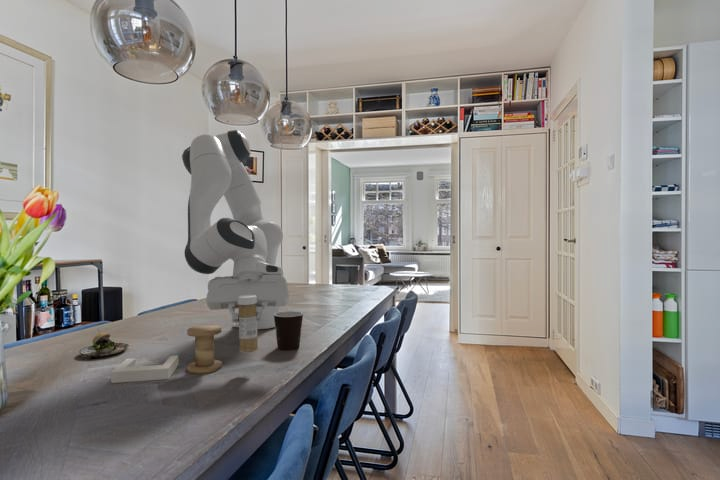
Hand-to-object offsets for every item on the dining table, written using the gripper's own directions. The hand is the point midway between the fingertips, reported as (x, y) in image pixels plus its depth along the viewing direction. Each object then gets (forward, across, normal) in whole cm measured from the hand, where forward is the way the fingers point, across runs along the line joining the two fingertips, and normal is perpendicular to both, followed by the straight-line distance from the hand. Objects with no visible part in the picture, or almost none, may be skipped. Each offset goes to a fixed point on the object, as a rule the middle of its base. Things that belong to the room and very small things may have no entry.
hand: (247, 320), depth 96 cm
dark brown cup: (-6, +10, +25) cm, 27 cm away
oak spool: (+5, -11, +12) cm, 18 cm away
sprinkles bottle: (+5, 0, +6) cm, 8 cm away
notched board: (+6, -24, +11) cm, 27 cm away
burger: (-8, -42, +26) cm, 50 cm away
